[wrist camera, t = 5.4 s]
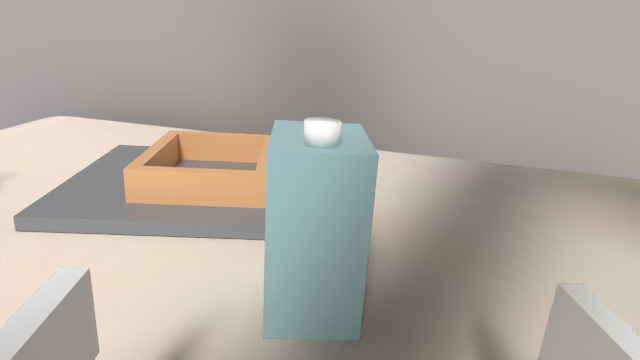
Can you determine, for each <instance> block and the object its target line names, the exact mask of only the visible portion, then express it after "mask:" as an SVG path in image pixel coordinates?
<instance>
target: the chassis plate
mask: <svg viewBox="0 0 640 360" xmlns="http://www.w3.org/2000/svg"><path fill="white" fill-rule="evenodd" d="M270 137H271V135H256V134H235V133H214V132H194V131H173V130H170V131H169V132H168V133H166V134H165V135H164V136H163V137H162V138H160V139H159V140H158V141H157V142H156V143H154V144H153V145H152V146H129V145H119V146H117V147H116V148H114V149H113V150H111V151H110V152H108V153H107V154H105V155H104V156H102V157H101V158H99V159H98V160H96V161H95V162H93V163H92V164H90V165H89V166H87V167H86V168H85V169H83V170H82V171H80V172H79V173H77V174H76V175H74V176H73V177H71V178H70V179H68V180H67V181H65V182H64V183H62V184H61V185H59V186H58V187H56V188H55V189H53V190H52V191H50V192H49V193H48V194H46V195H45V196H43V197H42V198H40V199H39V200H37V201H36V202H34V203H33V204H31V205H30V206H28V207H27V208H25V209H24V210H22V211H21V212H19V213H18V214H16V215H15V216H14V223H15V229H16V231H36V232H64V233H92V234H120V235H148V236H175V237H203V238H231V239H259V240H265V215H266V165H267V148H268V144H269V141H270Z"/></svg>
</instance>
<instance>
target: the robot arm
mask: <svg viewBox="0 0 640 360" xmlns="http://www.w3.org/2000/svg"><path fill="white" fill-rule="evenodd" d="M98 353H99V344H98V336H97V327H96V319H95V310H94V302H93V293H92V285H91V276H90V268H75V267H60V268H59V269H58V270H57V271H56V272H55V273H54V274H53V275H52V276H51V277H50V278H49V279H48V280H47V281H46V282H45V283H44V284H43V285H42V286H41V287H40V288H39V289H38V290H37V291H36V293H35V294H34V295H33V296H32V297H31V298H30V299H29V300H28V301H27V302H26V303H25V304H24V305H23V306H22V307H21V308H20V309H19V310H18V311H17V312H16V313H15V314H14V315H13V316H12V317H11V318H10V319H9V320H8V321H7V322H6V323H5V324H4V325H3V326H2V327H1V328H0V360H94V359H95V358H96V356H97V355H98ZM538 360H640V336H639V335H638V334H637V333H636V332H635V331H634V330H633V329H631V328H630V327H629V326H628V325H627V324H626V323H625V322H624V321H623V320H622V319H621V318H620V317H619V316H618V315H616V314H615V313H614V312H613V311H612V310H611V309H610V308H609V307H608V306H607V305H606V304H605V303H604V302H603V301H601V300H600V299H599V298H598V297H597V296H596V295H595V294H594V293H593V292H592V291H591V290H590V289H589V288H588V287H586V286H585V285H584V284H572V283H558V284H557V288H556V292H555V296H554V300H553V304H552V307H551V311H550V315H549V319H548V323H547V327H546V331H545V334H544V338H543V342H542V346H541V350H540V354H539V358H538Z"/></svg>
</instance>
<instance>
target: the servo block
mask: <svg viewBox="0 0 640 360" xmlns="http://www.w3.org/2000/svg"><path fill="white" fill-rule="evenodd" d="M378 158H379V155H378V154H377V152H376V150H375V148H374V147H373V145H372V143H371V141H370V140H369V138H368V136H367V134H366V132H365V131H364V129H363V127H362V125H361V124H347V123H346V124H345V123H342V121H340V120H338V119H334V118H326V117H310V118H306V119H304V121H284V120H275V122H274V126H273V130H272V134H271V137H270V141H269V144H268V148H267V165H266V215H265V265H264V315H263V339H303V340H345V341H360V334H361V324H362V314H363V305H364V295H365V285H366V275H367V265H368V256H369V246H370V236H371V226H372V217H373V207H374V197H375V187H376V178H377V168H378Z"/></svg>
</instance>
